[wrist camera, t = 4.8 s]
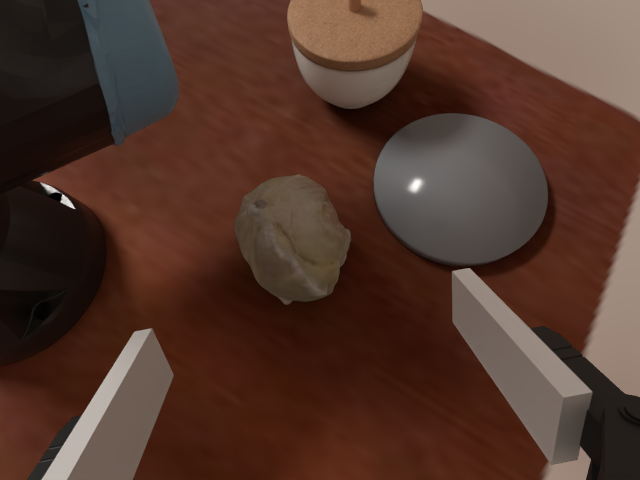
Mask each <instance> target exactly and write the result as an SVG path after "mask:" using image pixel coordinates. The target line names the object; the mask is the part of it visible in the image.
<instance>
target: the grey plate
mask: <svg viewBox="0 0 640 480" xmlns="http://www.w3.org/2000/svg"><path fill="white" fill-rule="evenodd" d="M373 195H374V200H375V205H376V208H377V210H378V213H379V215H380V217H381V219H382V221H383V223H384V224H385V226H386V227H387V229H388V230H389V231H390V233H391V234H392V235H393V236H394V237H395V238H396V239H397V240H398V241H399V242H400V243H401V244H403V245H404V246H405V247H406V248H408V249H409V250H411V251H412V252H414V253H416V254H417V255H419V256H421V257H423V258H425V259H428V260H431V261H433V262H436V263H440V264H445V265H450V266H458V267H472V266H479V265H485V264H489V263H492V262H495V261H498V260H500V259H502V258H504V257H506V256H508V255H509V254H511V253H513V252H514V251H516V250H517V249H519V248H520V247H522V246H523V245H524V244H525V243H526V242H528V241H529V240H530V239H531V237H532V236H533V235H534V234H535V233H536V231H537V230H538V228H539V227H540V225H541V223H542V221H543V218H544V216H545V213H546V209H547V203H548V188H547V182H546V178H545V174H544V172H543V169H542V167H541V165H540V163H539V161H538V159H537V158H536V156H535V155H534V153H533V152H532V151H531V149H530V148H529V147H528V146H527V145H526V144H525V143H524V142H523V141H522V140H521V139H520V138H519V137H518V136H516V135H515V134H514V133H512V132H511V131H509V130H508V129H506V128H505V127H503V126H501V125H499V124H497V123H495V122H492V121H490V120H487V119H485V118H481V117H478V116H473V115H468V114H458V113H445V114H437V115H432V116H428V117H424V118H421V119H419V120H416V121H414V122H412V123H410V124H408V125H406V126H405V127H403V128H402V129H400V130H399V131H398V132H397V133H396V134H394V135H393V136H392V137H391V138H390V140H389V141H388V142H387V143H386V145H385V146H384V148H383V149H382V151H381V153H380V156H379V158H378V160H377V164H376V168H375V173H374V181H373Z"/></svg>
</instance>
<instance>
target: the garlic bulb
mask: <svg viewBox="0 0 640 480" xmlns="http://www.w3.org/2000/svg"><path fill="white" fill-rule="evenodd" d="M234 229H235V233H236V240H237V242H238V245H239V247H240V249H241V253H242V256H243V257H244V259H245V260H246V261H247V262H248V264H249V265H250V267H251V269H252V272H253V274H254V277H255V279H256V281H257V282H258V283H259V284H260V285H261V286H262V287H263V288H264V289H266V290H267V291H269V292H270V293H271V294H273V295H274V296H276V297H278V298H279V299H280V300H281V301H282V302H283V303H284V304H290V303H291V302H292V301H303V302H308V301H313V300H317V299H321V298H324V297H326V296H328V295H330V294H331V293H332V292H333V289H334V286H335V284H336V283H337V282H338V278H339V273H340V267H341V266H342V265H343V264H344V262H345V260H346V257H347V255H346V253H347V251H348V249H349V245H350V241H351V235H350V231H349V230H348V229H347V228H344V226H343V225H342V224H341V223H340V222H339V220H338V216H337V212H336V210H335V208H334V206H333V205H332V203H331V202H330V200H329V198H328V194H327V192H326V190H325V189H324V188H323V187H322V186H321V185H320V184H318V183H316V182H315V181H313V180H311V179H309V178H308V177H305V176H302V175H301V174H299V175H294V176H284V177H277V178H273V179H270V180H268V181H266V182H263V183H261V184H260V185H259V186H258V187H257V188H255V189H254V190H253V191H251V192H250V193H248V194H247V195H245V196H244V197H243V200H242V204H241V207H240V210H239V213H238V216H237V218H236V220H235V222H234Z"/></svg>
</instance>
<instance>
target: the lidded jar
mask: <svg viewBox="0 0 640 480" xmlns="http://www.w3.org/2000/svg"><path fill="white" fill-rule="evenodd" d="M422 17H423V8H422V3H421V0H291V2H290V5H289V8H288V14H287V20H288V28H289V33H290V36H291V39H292V44H293V49H294V54H295V57H296V60H297V64H298V67H299V69H300V72H301V74H302V76H303V78H304V80H305V82H306V83H307V84H308V86H309V87H310V88H311V89H312V91H313V92H314V93H316V94H317V95H318V96H319V97H320V98H322V99H323V100H325V101H326V102H329V103H331V104H333V105H335V106H337V107H340V108H345V109H358V108H362V107H365V106H367V105H369V104H372V103H374V102H376V101H378V100H380V99H381V98H383V97H384V96H385V95H387V94H388V93H389V92H390V91H391V90H392V89H393V88H394V87H395V86H396V85H397V83H398V82H399V81H400V79H401V78H402V76H403V74H404V72H405V70H406V68H407V66H408V63H409V61H410V58H411V56H412V53H413V50H414V46H415V42H416V39H417V36H418V34H419V31H420V27H421V23H422Z"/></svg>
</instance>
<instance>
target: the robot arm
mask: <svg viewBox="0 0 640 480" xmlns="http://www.w3.org/2000/svg"><path fill="white" fill-rule="evenodd" d="M178 96H179V84H178V78H177V75H176V71H175V68H174V65H173V62H172V59H171V57H170V54H169V51H168V48H167V45H166V43H165V40H164V37H163V34H162V32H161V29H160V27H159V24H158V21H157V19H156V16H155V14H154V11H153V9H152V6H151V4H150V1H149V0H0V365H3V364H8V363H13V362H16V361H19V360H22V359H25V358H27V357H29V356H32V355H34V354H36V353H38V352H39V351H41V350H43V349H45V348H46V347H48V346H49V345H51V344H52V343H54V342H55V341H56V340H57V339H59V338H60V337H61V336H62V335H63V334H65V333H66V332H67V331H68V330H69V329H70V328H71V327H72V326H73V325H74V324H75V322H76V321H77V320H78V319H79V318H80V317H81V315H82V314H83V313H84V311H85V310H86V308H87V307H88V305H89V304H90V302H91V300H92V298H93V297H94V295H95V293H96V290H97V288H98V286H99V283H100V281H101V277H102V274H103V270H104V264H105V255H106V248H105V239H104V235H103V231H102V228H101V226H100V224H99V221H98V220H97V218H96V217H95V215H94V214H93V213H92V211H91V210H90V209H89V208H88V207H87V206H85V205H84V204H83V203H81V202H80V201H78V200H77V199H75V198H73V197H72V196H70V195H69V194H67V193H65V192H64V191H62V190H60V189H58V188H56V187H53V186H51V185H48V184H45V183H41V182H37V181H32V180H34V179H36V178H38V177H40V176H43V175H45V174H47V173H49V172H52V171H54V170H56V169H58V168H60V167H63V166H65V165H67V164H69V163H72V162H74V161H76V160H78V159H81V158H83V157H85V156H87V155H89V154H92V153H94V152H96V151H98V150H101V149H103V148H105V147H107V146H110V145H112V144H114V145H115V146H118V145H121V144H122V143H123V142H124V141H125V138H126V137H127V136H129V135H131V134H133V133H135V132H137V131H139V130H141V129H143V128H145V127H147V126H149V125H151V124H153V123H155V122H157V121H159V120H161V119H163V118H164V117H166V116H167V115H168V114H169V113H170V112H171V111H172V110H173V109H174V107H175V104H176V102H177V99H178ZM452 322H453V324H454V325H455V326H456V328H457V329H458V331H459V332H460V334H461V335H462V337H463V338H464V339H465V341H466V342H467V344H468V345H469V347H470V348H471V349H472V351H473V352H474V354H475V355H476V357H477V358H478V360H479V361H480V362H481V364H482V365H483V367H484V368H485V370H486V371H487V373H488V374H489V375H490V377H491V378H492V380H493V381H494V383H495V384H496V386H497V387H498V388H499V390H500V391H501V393H502V394H503V396H504V397H505V398H506V400H507V401H508V403H509V404H510V406H511V407H512V409H513V410H514V411H515V413H516V414H517V416H518V417H519V419H520V420H521V422H522V423H523V424H524V426H525V427H526V429H527V430H528V432H529V433H530V434H531V436H532V437H533V439H534V440H535V442H536V443H537V445H538V446H539V447H540V449H541V450H542V452H543V453H544V455H545V456H546V458H547V459H548V460H549V462H550V463H551V465H553V464H558V463H563V462H568V461H573V460H577V459H578V454H579V450H580V446H581V447H582V449H583V450H584V451H585V452H586V453H587V455H588V456H589V457H590V458H591V462H590V466H589V470H588V474H587V478H586V480H640V397H637V396H633V395H627V394H625V393H623V392H622V391H621V390H620V389H619V388H618V387H617V386H616V385H614V384H613V383H612V382H611V381H610V380H609V379H608V378H607V377H606V376H605V375H604V374H603V373H601V372H600V371H599V370H598V369H597V368H596V367H595V366H594V365H593V364H592V363H590V362H589V361H588V360H587V359H586V358H585V357H583V356H582V354H581V353H580V352H579V351H577V350H576V349H575V348H573V347H572V345H571V344H570V343H569V342H568V341H567V340H565V339H564V338H563V337H562V336H561V335H560V334H558V333H556V332H554V331H552V330H550V329H549V328H547V327H545V326H541V327H536V328H529V327H528V326H527V325H526V324H525V323H524V322H523V321H522V320H521V319H520V318H519V317H518V316H517V315H516V314H515V313H514V312H513V311H512V310H511V309H510V308H509V307H508V306H507V305H506V304H505V303H504V302H503V301H502V300H501V299H500V298H499V297H498V296H497V295H496V294H495V293H494V292H493V291H492V290H491V289H490V288H489V287H488V286H487V285H486V284H485V283H484V282H483V281H482V280H481V279H480V278H479V277H478V276H477V275H476V274H475V273H474V272H473V271H472V270H471V269H470V268H466V269H461V270H456V271H452ZM173 376H174V374H173V372H172V370H171V368H170V366H169V364H168V361H167V359H166V357H165V355H164V353H163V351H162V349H161V346H160V344H159V342H158V340H157V338H156V336H155V334H154V331H153V329H152V328H151V329H145V330H140V331H135V332H134V333H133V335H132V336H131V338H130V339H129V341H128V343H127V344H126V346H125V347H124V349H123V351H122V352H121V354H120V355H119V357H118V359H117V360H116V362H115V363H114V365H113V367H112V368H111V370H110V371H109V373H108V375H107V376H106V378H105V379H104V381H103V382H102V384H101V386H100V387H99V389H98V390H97V392H96V394H95V395H94V397H93V398H92V400H91V402H90V403H89V405H88V406H87V408H86V410H85V411H84V413H83V414H82V415H81V416H76V417H73V418H72V419H71V420H70V421H69V422H68V423H67V424H66V425H65V426H64V427H63V428H62V429H61V430H60V431H59V432H58V434H57V435H56V437H55V438H54V440H53V441H52V443H51V444H50V446H49V450H46V452H45V453H44V455H43V456H42V458H41V459H40V463H38V464H37V466H36V467H35V469H34V470H33V472H32V473H31V475H30V476H29V478H28V479H27V480H133V478H134V475H135V473H136V470H137V468H138V465H139V463H140V460H141V458H142V455H143V452H144V450H145V447H146V445H147V442H148V440H149V437H150V435H151V432H152V430H153V427H154V425H155V422H156V420H157V417H158V414H159V412H160V409H161V407H162V404H163V402H164V399H165V397H166V394H167V392H168V389H169V387H170V384H171V382H172V379H173Z"/></svg>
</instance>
